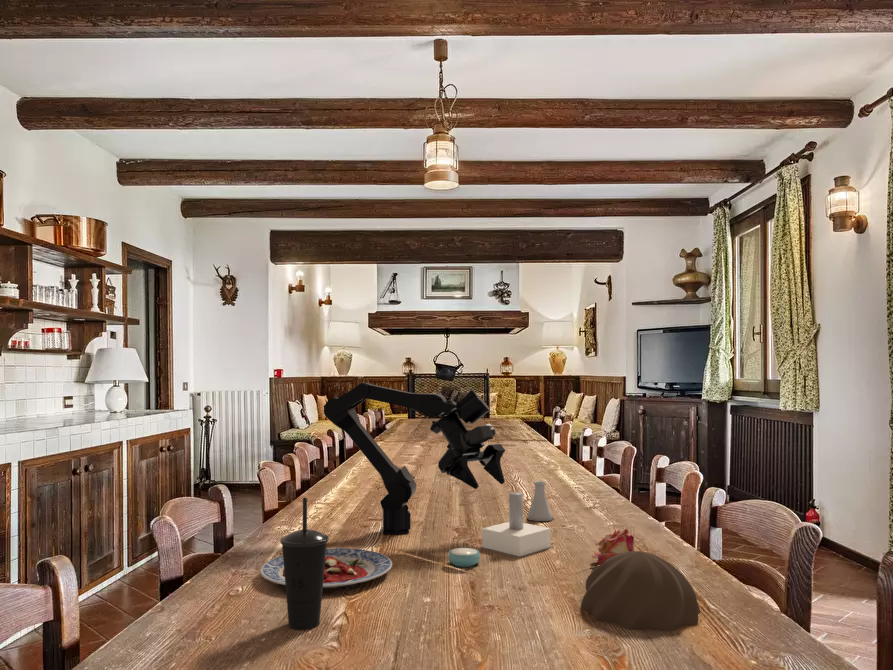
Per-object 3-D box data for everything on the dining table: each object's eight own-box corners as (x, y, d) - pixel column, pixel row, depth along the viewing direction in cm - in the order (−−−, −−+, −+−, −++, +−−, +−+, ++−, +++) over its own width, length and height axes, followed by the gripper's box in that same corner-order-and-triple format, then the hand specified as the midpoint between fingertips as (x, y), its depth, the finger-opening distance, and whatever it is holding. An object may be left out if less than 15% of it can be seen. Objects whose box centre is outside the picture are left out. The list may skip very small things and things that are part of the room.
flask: (552, 522, 180) (552, 484, 181) (525, 521, 182) (525, 483, 182) (554, 516, 187) (553, 480, 188) (527, 515, 189) (527, 479, 189)
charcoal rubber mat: (479, 548, 154) (479, 547, 154) (513, 539, 162) (513, 537, 162) (520, 559, 145) (520, 557, 145) (553, 548, 154) (553, 547, 154)
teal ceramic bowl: (451, 570, 137) (451, 556, 138) (446, 561, 144) (446, 548, 144) (482, 569, 138) (482, 555, 138) (476, 560, 145) (476, 547, 145)
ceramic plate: (278, 606, 118) (278, 589, 118) (248, 568, 140) (248, 553, 141) (413, 584, 129) (413, 568, 130) (365, 552, 152) (365, 539, 152)
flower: (648, 556, 141) (626, 522, 144) (646, 558, 133) (622, 522, 136) (609, 580, 142) (587, 546, 146) (604, 584, 134) (581, 548, 137)
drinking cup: (283, 616, 112) (284, 494, 113) (330, 614, 113) (330, 493, 114) (275, 634, 105) (277, 503, 106) (325, 632, 105) (326, 502, 106)
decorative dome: (714, 636, 104) (712, 570, 104) (582, 628, 107) (581, 564, 108) (690, 595, 123) (689, 539, 124) (579, 589, 126) (578, 535, 127)
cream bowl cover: (482, 547, 154) (481, 493, 155) (513, 538, 162) (513, 487, 162) (519, 556, 146) (519, 500, 147) (550, 547, 154) (550, 493, 154)
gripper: (446, 415, 158) (481, 467, 150) (499, 411, 171) (534, 459, 163) (423, 446, 163) (456, 498, 155) (476, 440, 177) (509, 488, 168)
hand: (490, 485), depth 160 cm, fingers open, 9 cm apart
